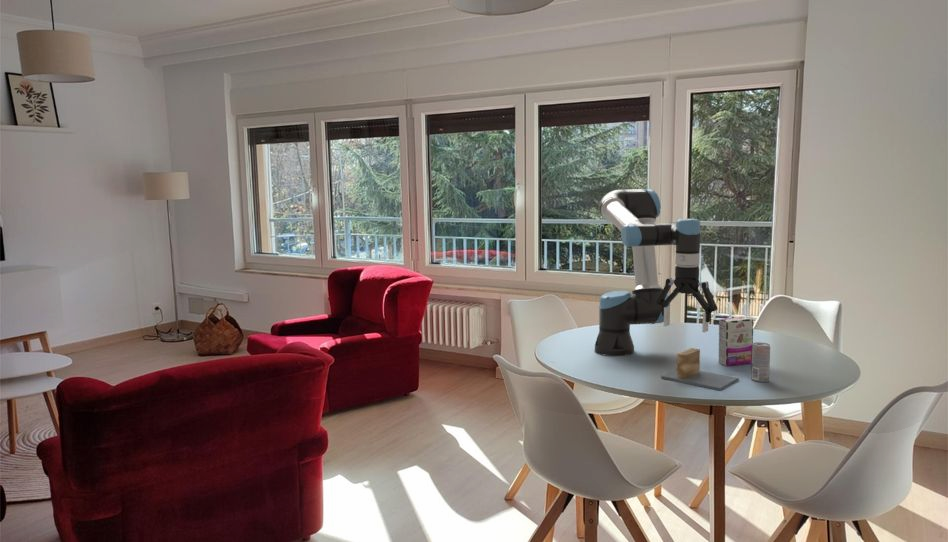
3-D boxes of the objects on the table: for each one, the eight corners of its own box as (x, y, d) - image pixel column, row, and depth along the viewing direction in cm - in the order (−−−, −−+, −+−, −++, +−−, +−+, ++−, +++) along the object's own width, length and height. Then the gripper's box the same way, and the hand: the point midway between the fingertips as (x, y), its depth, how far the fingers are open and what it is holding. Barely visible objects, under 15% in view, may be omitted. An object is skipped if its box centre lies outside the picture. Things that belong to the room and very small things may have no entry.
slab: (677, 377, 207) (677, 353, 206) (690, 370, 214) (691, 347, 213) (685, 379, 205) (686, 355, 204) (699, 372, 212) (699, 349, 211)
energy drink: (764, 377, 208) (765, 342, 206) (772, 382, 202) (773, 346, 201) (748, 377, 208) (749, 342, 206) (755, 382, 202) (757, 346, 201)
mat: (661, 378, 209) (661, 375, 209) (681, 369, 219) (681, 366, 219) (720, 390, 195) (720, 388, 195) (738, 380, 205) (738, 377, 205)
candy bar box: (743, 360, 228) (744, 316, 226) (753, 363, 224) (754, 318, 222) (717, 363, 226) (718, 318, 223) (726, 366, 221) (727, 321, 219)
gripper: (647, 264, 212) (646, 325, 215) (719, 270, 195) (717, 336, 198) (657, 261, 217) (656, 321, 220) (729, 267, 200) (727, 332, 203)
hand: (685, 328), depth 209 cm, fingers open, 13 cm apart
